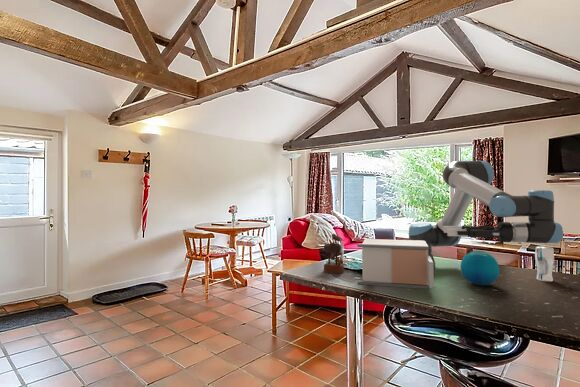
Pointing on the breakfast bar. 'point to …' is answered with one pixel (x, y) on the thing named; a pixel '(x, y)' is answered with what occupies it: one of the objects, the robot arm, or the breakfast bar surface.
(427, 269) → the side door
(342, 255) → the screw
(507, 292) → the breakfast bar surface
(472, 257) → the decorative orb
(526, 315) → the breakfast bar surface
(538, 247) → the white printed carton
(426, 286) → the sliding door cabinet
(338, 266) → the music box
